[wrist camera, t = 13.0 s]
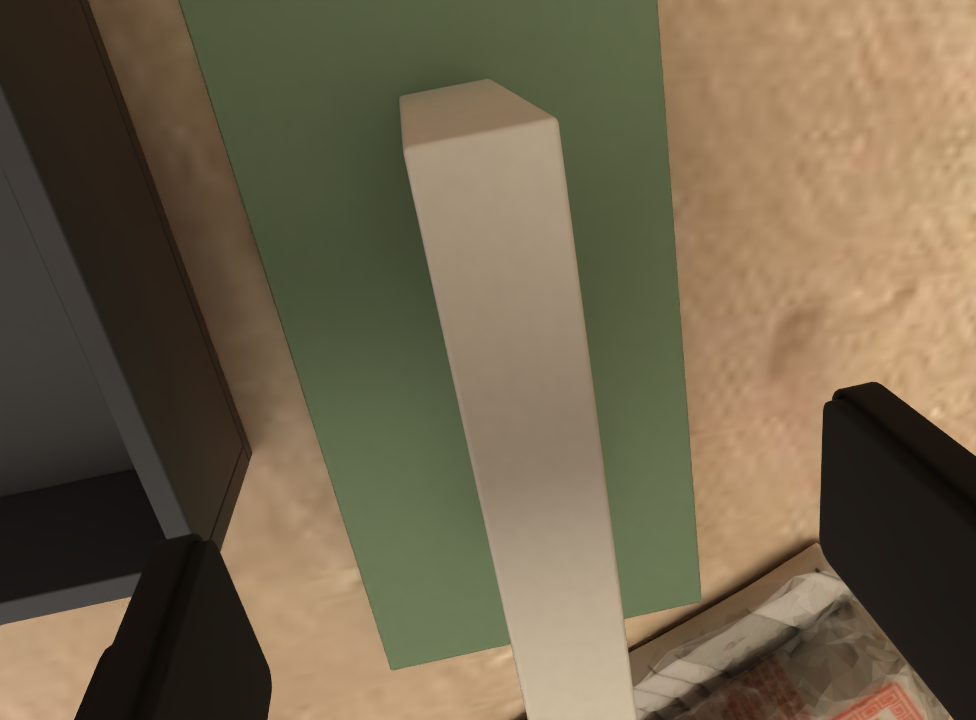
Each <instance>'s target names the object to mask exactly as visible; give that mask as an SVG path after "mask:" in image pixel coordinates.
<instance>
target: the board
mask: <svg viewBox="0 0 976 720" xmlns="http://www.w3.org/2000/svg"><path fill="white" fill-rule="evenodd" d="M399 105H400V117H401V130H402V143H403V154H404V159H405V163H406V168H407V172H408V177H409V181H410V186H411V190H412V195H413V200H414V204H415V209H416V213H417V218H418V222H419V227H420V231H421V236H422V241H423V245H424V250H425V254H426V259H427V263H428V268H429V272H430V277H431V282H432V286H433V291H434V295H435V300H436V304H437V309H438V313H439V318H440V323H441V327H442V332H443V336H444V341H445V345H446V350H447V354H448V359H449V364H450V368H451V373H452V377H453V382H454V386H455V391H456V395H457V400H458V404H459V409H460V414H461V418H462V423H463V427H464V432H465V436H466V441H467V445H468V450H469V455H470V459H471V464H472V468H473V473H474V477H475V482H476V486H477V491H478V496H479V500H480V505H481V509H482V514H483V518H484V523H485V527H486V532H487V537H488V541H489V546H490V550H491V555H492V559H493V564H494V568H495V573H496V578H497V582H498V587H499V591H500V596H501V600H502V605H503V609H504V614H505V619H506V623H507V628H508V632H509V637H510V641H511V646H512V650H513V655H514V659H515V664H516V669H517V673H518V678H519V682H520V687H521V691H522V696H523V700H524V705H525V710H526V714H527V719H528V720H637V714H636V706H635V699H634V691H633V684H632V676H631V669H630V661H629V653H628V646H627V638H626V631H625V623H624V616H623V608H622V600H621V593H620V585H619V578H618V570H617V562H616V555H615V547H614V540H613V532H612V525H611V517H610V509H609V502H608V494H607V487H606V479H605V472H604V464H603V456H602V449H601V441H600V434H599V426H598V419H597V411H596V403H595V396H594V388H593V381H592V373H591V365H590V358H589V350H588V343H587V335H586V328H585V320H584V312H583V305H582V297H581V290H580V282H579V275H578V267H577V259H576V252H575V244H574V237H573V229H572V222H571V214H570V206H569V199H568V191H567V184H566V176H565V168H564V161H563V153H562V146H561V138H560V131H559V123H558V121H557V119H556V118H555V117H553V116H552V115H550V114H548V113H547V112H545V111H543V110H542V109H540V108H538V107H536V106H535V105H533V104H531V103H530V102H528V101H526V100H525V99H523V98H521V97H519V96H518V95H516V94H514V93H513V92H511V91H509V90H508V89H506V88H504V87H503V86H501V85H499V84H497V83H496V82H494V81H492V80H491V79H483V80H478V81H473V82H468V83H463V84H458V85H453V86H448V87H443V88H438V89H433V90H428V91H422V92H417V93H412V94H407V95H402V96H401V97H400V98H399Z"/></svg>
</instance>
